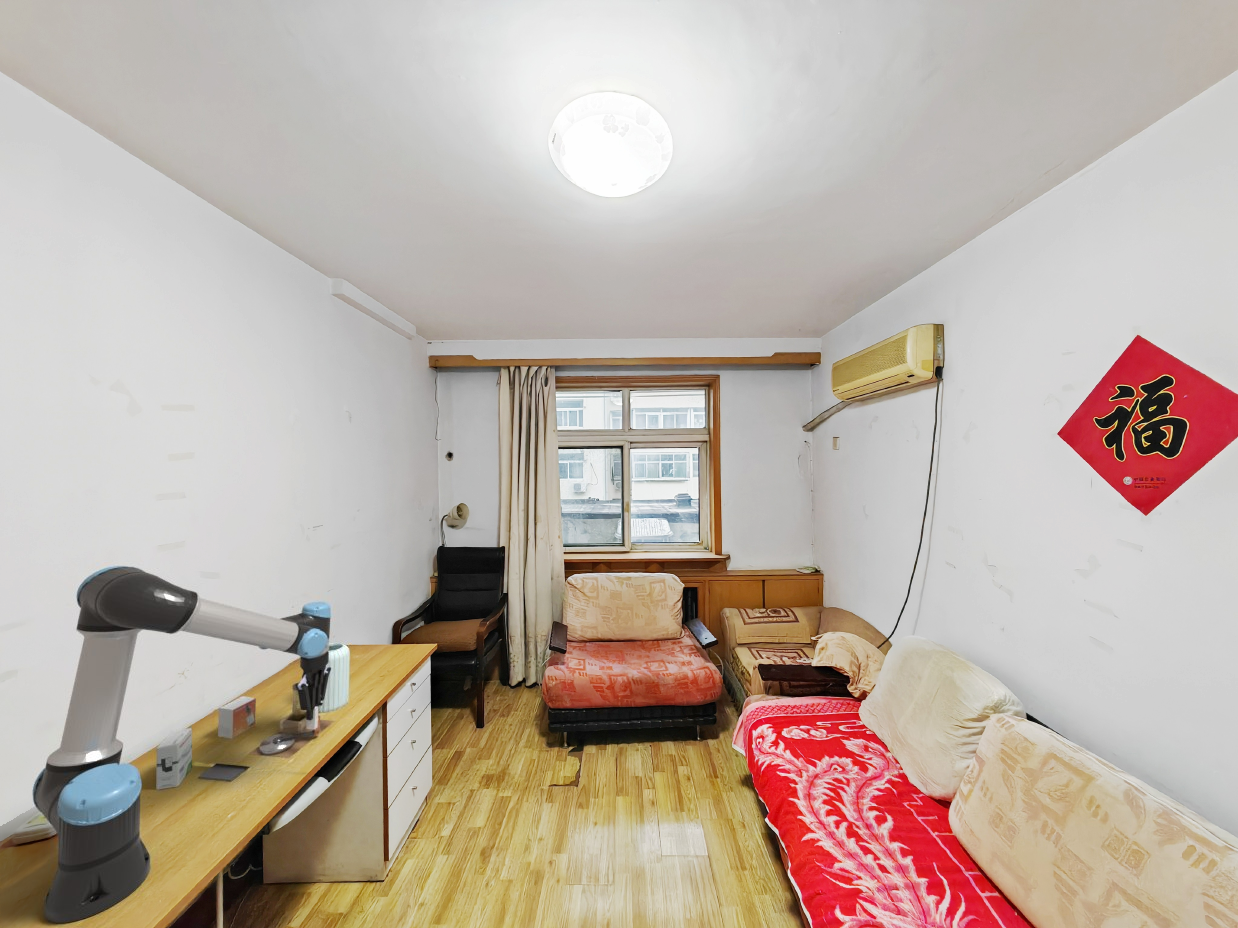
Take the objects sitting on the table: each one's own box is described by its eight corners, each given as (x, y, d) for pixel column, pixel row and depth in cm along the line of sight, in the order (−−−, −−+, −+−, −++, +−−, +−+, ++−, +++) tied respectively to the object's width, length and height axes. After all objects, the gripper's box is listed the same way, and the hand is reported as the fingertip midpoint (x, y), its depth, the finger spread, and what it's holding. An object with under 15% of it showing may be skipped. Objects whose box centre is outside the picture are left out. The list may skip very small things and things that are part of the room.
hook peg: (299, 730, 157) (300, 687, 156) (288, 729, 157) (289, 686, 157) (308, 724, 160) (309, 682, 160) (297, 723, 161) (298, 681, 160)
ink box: (171, 770, 138) (172, 729, 138) (192, 767, 140) (193, 726, 139) (154, 790, 130) (155, 747, 130) (177, 786, 132) (178, 743, 131)
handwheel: (319, 743, 150) (319, 723, 150) (257, 757, 142) (257, 736, 142) (320, 728, 157) (320, 709, 157) (261, 741, 150) (261, 721, 150)
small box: (231, 743, 151) (232, 710, 151) (217, 740, 152) (217, 707, 152) (255, 729, 159) (256, 697, 159) (241, 726, 160) (242, 695, 160)
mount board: (289, 762, 143) (289, 757, 143) (248, 758, 144) (248, 753, 144) (334, 725, 163) (334, 720, 163) (298, 721, 164) (298, 717, 164)
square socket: (300, 734, 155) (300, 723, 155) (279, 732, 155) (279, 721, 155) (316, 721, 162) (316, 711, 162) (296, 719, 163) (296, 709, 162)
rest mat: (230, 781, 134) (230, 779, 134) (197, 778, 135) (197, 776, 135) (260, 758, 144) (260, 757, 144) (229, 755, 145) (229, 754, 145)
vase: (347, 697, 181) (348, 638, 181) (349, 711, 171) (351, 649, 171) (311, 705, 175) (312, 644, 174) (311, 720, 165) (312, 656, 165)
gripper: (311, 662, 144) (308, 740, 145) (340, 645, 157) (337, 717, 157) (287, 660, 145) (284, 738, 145) (318, 644, 158) (315, 715, 158)
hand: (312, 727), depth 151 cm, fingers closed
